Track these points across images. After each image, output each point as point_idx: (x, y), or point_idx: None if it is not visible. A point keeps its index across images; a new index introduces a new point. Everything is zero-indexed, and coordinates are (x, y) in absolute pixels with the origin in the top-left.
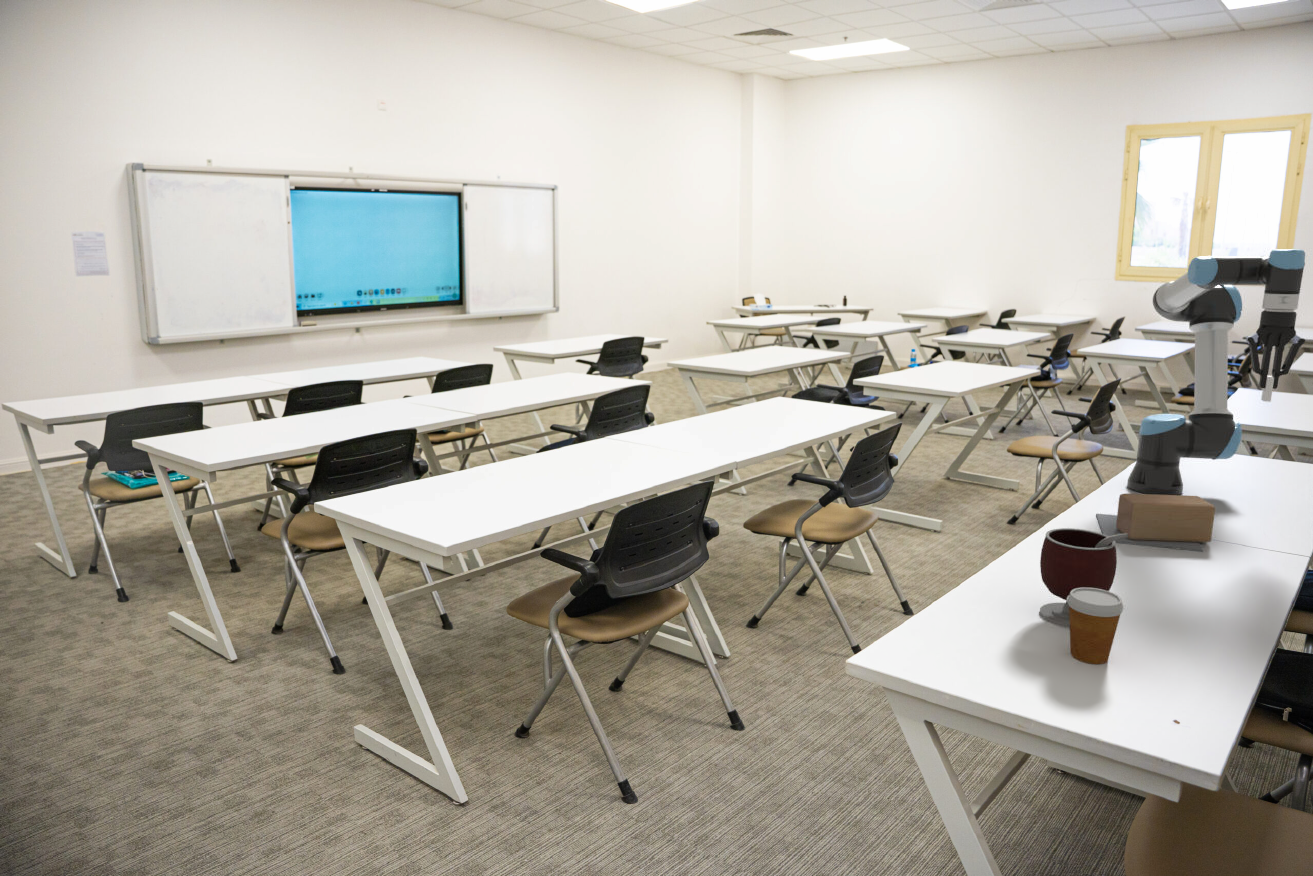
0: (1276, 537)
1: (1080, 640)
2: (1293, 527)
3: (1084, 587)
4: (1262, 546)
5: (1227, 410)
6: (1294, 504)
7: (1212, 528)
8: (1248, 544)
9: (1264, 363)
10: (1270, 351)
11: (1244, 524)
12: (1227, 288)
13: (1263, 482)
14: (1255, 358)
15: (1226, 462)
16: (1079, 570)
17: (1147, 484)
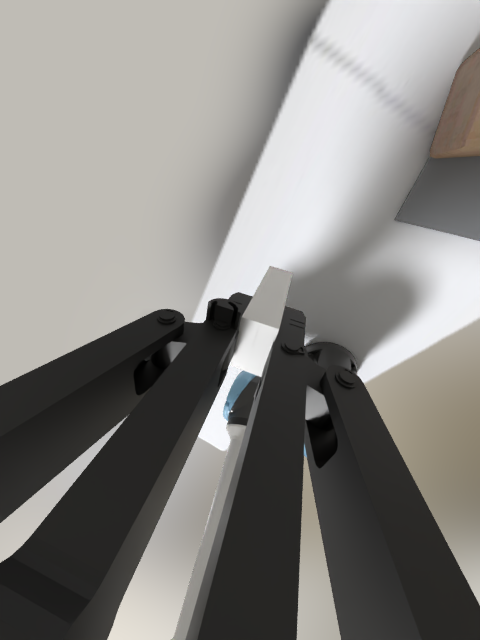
0: (293, 161)
1: None
2: (244, 220)
3: None
4: (348, 91)
5: (235, 433)
6: (203, 310)
7: (476, 51)
8: (366, 100)
9: (302, 425)
10: (218, 624)
11: (301, 226)
12: None
13: None
14: (414, 530)
15: (207, 420)
16: None
17: (349, 358)
